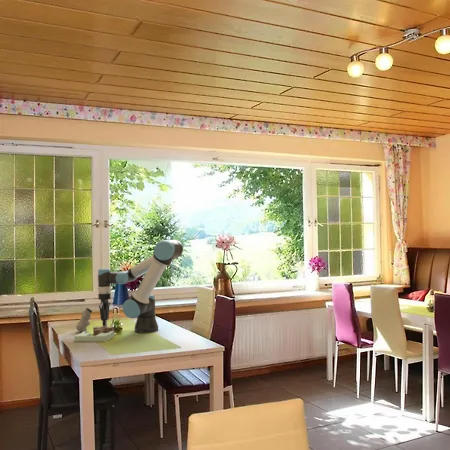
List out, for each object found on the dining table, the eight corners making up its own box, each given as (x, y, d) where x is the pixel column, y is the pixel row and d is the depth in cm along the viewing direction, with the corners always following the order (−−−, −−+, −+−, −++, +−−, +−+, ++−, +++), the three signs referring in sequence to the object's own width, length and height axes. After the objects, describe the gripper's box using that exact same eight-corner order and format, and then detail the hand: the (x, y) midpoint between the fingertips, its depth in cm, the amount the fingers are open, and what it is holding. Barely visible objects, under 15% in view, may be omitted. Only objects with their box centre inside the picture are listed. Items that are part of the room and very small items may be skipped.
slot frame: (114, 336, 322) (114, 331, 322) (105, 341, 307) (105, 336, 307) (84, 336, 324) (84, 331, 324) (74, 341, 310) (74, 336, 310)
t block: (114, 333, 332) (113, 326, 332) (107, 336, 320) (107, 330, 321) (95, 332, 334) (95, 326, 334) (88, 336, 322) (88, 330, 322)
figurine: (88, 333, 334) (87, 309, 334) (73, 332, 336) (73, 309, 336) (94, 330, 343) (94, 307, 343) (80, 330, 345) (79, 307, 345)
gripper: (102, 291, 341) (103, 328, 341) (94, 294, 328) (95, 332, 328) (113, 291, 340) (114, 328, 340) (106, 294, 327) (107, 332, 327)
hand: (105, 330), depth 334 cm, fingers closed
